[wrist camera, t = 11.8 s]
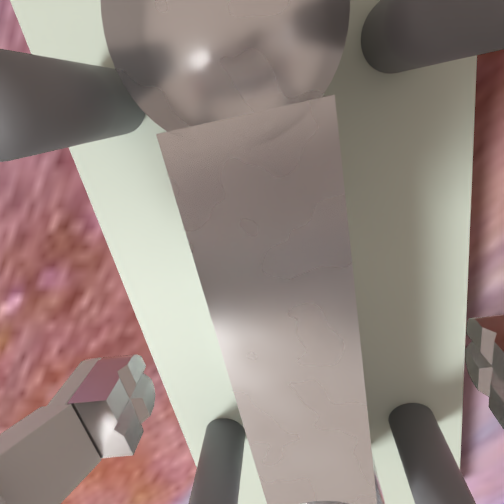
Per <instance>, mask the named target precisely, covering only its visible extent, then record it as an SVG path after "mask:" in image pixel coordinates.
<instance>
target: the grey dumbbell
mask: <svg viewBox="0 0 504 504" xmlns="http://www.w3.org/2000/svg"><path fill="white" fill-rule="evenodd" d="M349 15H350V0H101V17H102V23H103V30H104V35H105V39H106V43H107V47H108V50H109V53H110V56H111V59H112V61H113V64H114V67H115V69H116V71H117V73H118V75H119V77H120V79H121V81H122V83H123V85H124V86H125V88H126V89H127V91H128V92H129V94H130V95H131V97H132V98H133V100H134V101H135V102H136V103H137V105H138V106H139V107H140V108H141V109H142V111H143V112H144V113H145V114H146V115H147V116H148V117H150V118H151V119H152V120H153V121H154V122H155V123H156V124H157V125H159V126H160V127H161V128H163V129H164V130H165V131H166V132H162V133H159V134H156V136H157V139H158V143H159V146H160V149H161V153H162V156H163V159H164V163H165V166H166V169H167V173H168V176H169V179H170V183H171V186H172V189H173V193H174V196H175V199H176V203H177V206H178V209H179V213H180V216H181V219H182V223H183V226H184V229H185V233H186V236H187V239H188V243H189V246H190V249H191V253H192V256H193V259H194V263H195V266H196V269H197V273H198V276H199V279H200V283H201V286H202V289H203V293H204V296H205V299H206V302H207V306H208V309H209V312H210V316H211V319H212V322H213V326H214V329H215V332H216V336H217V339H218V342H219V346H220V349H221V352H222V356H223V359H224V362H225V366H226V369H227V372H228V376H229V379H230V382H231V386H232V389H233V392H234V396H235V399H236V402H237V406H238V409H239V412H240V416H241V419H242V422H243V426H244V429H245V432H246V436H247V439H248V442H249V446H250V449H251V452H252V456H253V459H254V462H255V466H256V469H257V472H258V476H259V479H260V482H261V486H262V489H263V492H264V496H265V499H266V502H267V504H385V501H384V497H383V493H382V489H381V485H380V481H379V477H378V473H377V469H376V465H375V461H374V457H373V453H372V449H371V439H370V430H369V420H368V410H367V401H366V391H365V381H364V372H363V362H362V353H361V343H360V333H359V324H358V314H357V304H356V295H355V285H354V275H353V266H352V256H351V247H350V237H349V227H348V218H347V208H346V198H345V189H344V179H343V169H342V160H341V150H340V141H339V131H338V121H337V112H336V102H335V95H324V93H325V91H326V89H327V88H328V86H329V84H330V83H331V81H332V79H333V77H334V74H335V72H336V70H337V68H338V65H339V63H340V60H341V56H342V53H343V50H344V47H345V42H346V37H347V32H348V27H349Z"/></svg>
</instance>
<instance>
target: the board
mask: <svg viewBox="0 0 504 504" xmlns="http://www.w3.org/2000/svg"><path fill="white" fill-rule="evenodd" d="M10 1H11V4H12V6H13V9H14V11H15V14H16V16H17V19H18V21H19V24H20V26H21V29H22V31H23V34H24V36H25V39H26V41H27V44H28V46H29V49H30V51H31V54H27V53H22V52H16V51H10V50H4V49H0V162H4V161H10V160H14V159H19V158H23V157H28V156H32V155H36V154H41V153H45V152H50V151H54V150H58V149H63V148H67V147H69V149H70V152H71V154H72V157H73V159H74V162H75V164H76V167H77V169H78V172H79V174H80V177H81V179H82V182H83V184H84V187H85V189H86V192H87V194H88V197H89V199H90V202H91V204H92V207H93V209H94V212H95V214H96V217H97V219H98V222H99V224H100V227H101V229H102V232H103V234H104V237H105V239H106V242H107V244H108V247H109V249H110V252H111V254H112V257H113V259H114V262H115V264H116V267H117V269H118V272H119V274H120V277H121V279H122V282H123V284H124V287H125V289H126V292H127V294H128V297H129V299H130V302H131V304H132V307H133V309H134V312H135V314H136V317H137V319H138V322H139V324H140V327H141V329H142V332H143V334H144V337H145V339H146V342H147V344H148V347H149V349H150V352H151V354H152V357H153V359H154V362H155V364H156V367H157V369H158V372H159V374H160V377H161V379H162V382H163V384H164V387H165V389H166V392H167V394H168V397H169V399H170V402H171V404H172V407H173V409H174V412H175V414H176V417H177V419H178V422H179V424H180V427H181V429H182V432H183V434H184V437H185V439H186V442H187V444H188V447H189V449H190V452H191V454H192V457H193V459H194V462H195V464H196V467H197V470H196V474H195V479H194V483H193V487H192V491H191V496H190V500H189V504H267V502H266V499H265V496H264V492H263V489H262V486H261V482H260V479H259V476H258V472H257V469H256V466H255V462H254V459H253V456H252V452H251V449H250V446H249V442H248V439H247V436H246V432H245V429H244V426H243V422H242V419H241V416H240V412H239V409H238V406H237V402H236V399H235V396H234V392H233V389H232V386H231V382H230V379H229V376H228V372H227V369H226V366H225V362H224V359H223V356H222V352H221V349H220V346H219V342H218V339H217V336H216V332H215V329H214V326H213V322H212V319H211V316H210V312H209V309H208V306H207V302H206V299H205V296H204V293H203V289H202V286H201V283H200V279H199V276H198V273H197V269H196V266H195V263H194V259H193V256H192V253H191V249H190V246H189V243H188V239H187V236H186V233H185V229H184V226H183V223H182V219H181V216H180V213H179V209H178V206H177V203H176V199H175V196H174V193H173V189H172V186H171V183H170V179H169V176H168V173H167V169H166V166H165V163H164V159H163V156H162V153H161V149H160V146H159V143H158V139H157V136H156V134H159V133H162V132H166V131H165V130H164V129H163V128H161V127H160V126H159V125H157V124H156V123H155V122H154V121H153V120H152V119H151V118H150V117H148V116H147V115H146V114H145V113H144V112H143V111H142V109H141V108H140V107H139V106H138V105H137V103H136V102H135V101H134V100H133V98H132V97H131V95H130V94H129V92H128V91H127V89H126V88H125V86H124V85H123V83H122V81H121V79H120V77H119V75H118V73H117V71H116V69H115V67H114V64H113V61H112V59H111V56H110V53H109V50H108V47H107V43H106V39H105V35H104V30H103V23H102V17H101V0H10ZM502 49H504V0H350V15H349V27H348V32H347V37H346V42H345V47H344V50H343V53H342V56H341V60H340V63H339V65H338V68H337V70H336V72H335V74H334V77H333V79H332V81H331V83H330V84H329V86H328V88H327V89H326V91H325V93H324V95H335V102H336V112H337V121H338V131H339V141H340V150H341V160H342V169H343V179H344V189H345V198H346V208H347V218H348V227H349V237H350V247H351V256H352V266H353V275H354V285H355V295H356V304H357V314H358V324H359V333H360V343H361V353H362V362H363V372H364V381H365V391H366V401H367V410H368V420H369V430H370V439H371V449H372V453H373V457H374V461H375V465H376V469H377V473H378V477H379V481H380V485H381V489H382V493H383V497H384V501H385V504H476V503H475V501H474V499H473V497H472V494H471V492H470V490H469V488H468V486H467V484H466V482H465V480H464V478H463V475H462V473H461V471H460V457H461V433H462V409H463V385H464V360H465V336H466V312H467V288H468V263H469V239H470V215H471V190H472V166H473V142H474V118H475V93H476V69H477V55H480V54H484V53H489V52H493V51H498V50H502Z"/></svg>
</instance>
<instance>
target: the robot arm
mask: <svg viewBox="0 0 504 504" xmlns="http://www.w3.org/2000/svg"><path fill="white" fill-rule="evenodd" d="M466 334H467V335H468V336H469V338H470V339H471V340H472V342H471V343H470V344H469V345H468V346H467V347H466V349H465V361H466V365H467V370H468V373H469V375H470V378H471V380H472V382H473V383H474V385H475V387H476V388H477V390H478V391H480V392H482V393H483V394H485V395H487V396H488V397H489V408H490V410H491V411H492V413H493V414H494V416H495V417H496V419H497V420H498V422H499V423H500V425H501V426H502V428H503V429H504V315H495V316H486V317H477V318H469V320H468V322H467V327H466ZM145 367H146V366H145V363H144V361H143V359H142V357H141V356H139V355H124V356H113V357H103V358H92V359H86V360H84V361H82V362H81V363H80V364H79V365H78V367H77V368H76V369H75V370H74V372H73V373H72V374H71V375H70V377H69V378H68V379H67V381H66V382H65V383H64V384H63V386H62V387H61V388H60V390H59V391H58V392H57V393H56V395H55V396H54V397H53V398H52V400H51V401H50V402H49V404H48V405H47V406H45V407H40V408H39V409H37V410H36V411H34V412H33V413H31V414H30V415H28V416H27V417H25V418H24V419H22V420H21V421H19V422H18V423H16V424H15V425H13V426H12V427H10V428H9V429H7V430H6V431H4V432H3V433H1V434H0V504H61V503H62V502H63V500H64V499H65V498H66V497H67V496H68V495H69V494H70V493H71V492H72V491H73V490H74V489H75V488H76V487H77V486H78V485H79V483H80V482H81V481H82V480H83V479H84V478H85V477H86V476H87V475H88V474H89V473H90V472H91V471H92V470H93V469H94V468H95V466H96V465H97V464H98V463H99V462H100V461H101V458H109V457H120V456H131V455H134V452H135V450H136V448H137V445H138V443H139V441H140V438H141V436H142V434H143V428H142V423H143V422H144V421H145V420H146V419H147V418H148V417H149V416H150V415H151V412H152V410H153V407H154V401H155V390H154V385H153V383H152V380H151V379H150V378H149V377H148V376H146V375H145V374H144V373H143V372H144V369H145Z"/></svg>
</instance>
